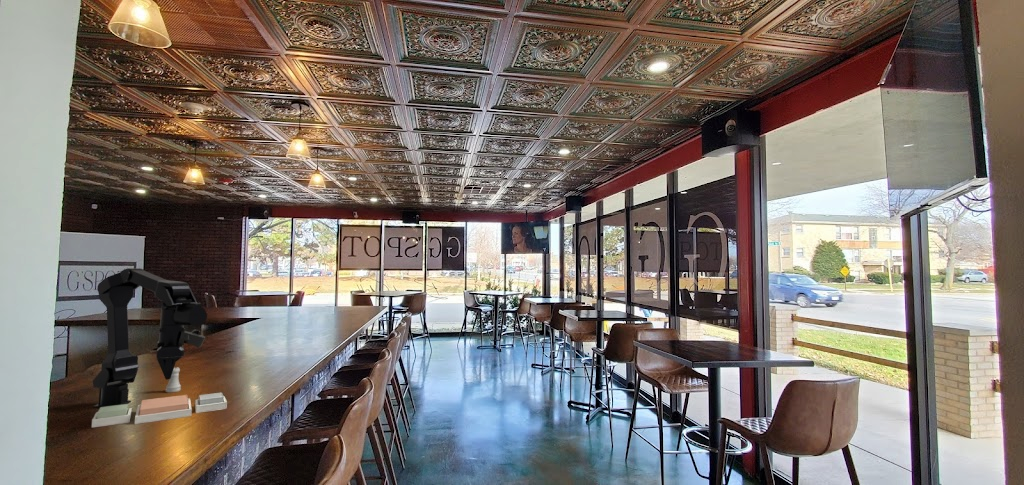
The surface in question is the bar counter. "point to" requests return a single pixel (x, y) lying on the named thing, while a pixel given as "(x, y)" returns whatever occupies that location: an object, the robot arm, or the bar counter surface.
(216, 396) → the grey button
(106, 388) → the robot arm
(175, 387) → the rook chess piece
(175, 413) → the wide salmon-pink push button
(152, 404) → the terracotta button
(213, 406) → the grey collar
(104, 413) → the sage button
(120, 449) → the bar counter surface
